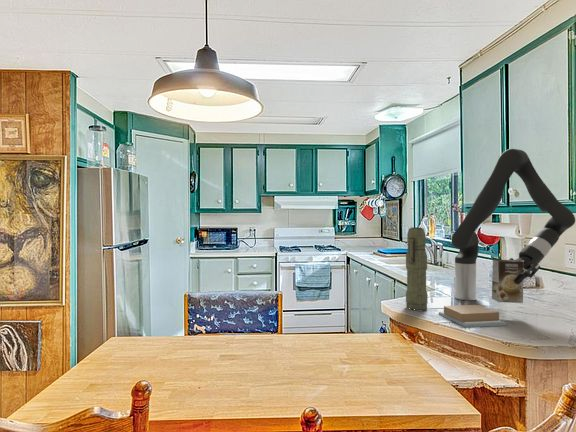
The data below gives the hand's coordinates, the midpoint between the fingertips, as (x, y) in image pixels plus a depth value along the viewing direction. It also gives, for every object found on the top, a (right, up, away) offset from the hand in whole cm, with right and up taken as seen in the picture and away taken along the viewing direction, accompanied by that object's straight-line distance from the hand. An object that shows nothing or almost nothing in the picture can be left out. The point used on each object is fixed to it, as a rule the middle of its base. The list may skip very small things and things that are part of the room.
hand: (508, 281), depth 147 cm
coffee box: (0, -8, 0) cm, 8 cm away
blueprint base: (-16, -14, -2) cm, 22 cm away
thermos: (-31, -15, +16) cm, 37 cm away
